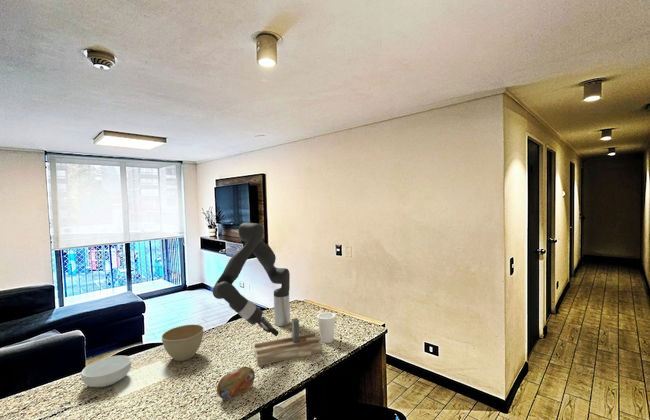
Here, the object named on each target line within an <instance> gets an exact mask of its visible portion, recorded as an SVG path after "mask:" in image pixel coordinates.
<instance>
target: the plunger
mask: <svg viewBox="0 0 650 420" xmlns="http://www.w3.org/2000/svg"><path fill="white" fill-rule="evenodd" d="M291 322H292V323H291V327H292V329H291V331H292V334H291V337H292V342H293V343H298V342H300V337H299V336H300V324H299V322H300V321H299V319H298V318H291Z"/></svg>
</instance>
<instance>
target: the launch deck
mask: <svg viewBox="0 0 650 420" xmlns="http://www.w3.org/2000/svg"><path fill="white" fill-rule="evenodd" d="M299 337H300V342H298V343H293V342H292V336H290V337H284V338H280V339H279V338H278V339H274V340H269V341H268V340H267V341H263V342H262V341H261V342H258V343H254V348H253V349H254V351H253V352H254V356H255V361H256V363H257V364H256V365H257V366H263V365H266V364H267V365H268V364H271V363H272V364H273V363H276V362H281V361H282V362H283V361H285V360H286V361H287V360H290V359H297V358H301V357H305V356H310V355H315V354H321V353H322V344H321V342H320V341H321V338H317V337H316V333H315V332H312V333H307V334H301V335H300V334H299Z"/></svg>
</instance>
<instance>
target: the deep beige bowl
mask: <svg viewBox="0 0 650 420" xmlns="http://www.w3.org/2000/svg"><path fill="white" fill-rule="evenodd" d="M203 336H204V327H203V325H201V324H185V325H180V326H176V327H173V328H171V329H168V330H167V331H165V332H164V333H163V334H162V335H161V342H162V344H163V347H164V350H165V351H166V353H167V354H168V355H169V356H170V358H171V359H173V360H175V361H176V362H184V361H189V360H190V359H191V358H193V357H194V356H195V355H196V353H197V352H198V350H199V348H200V346H201V344H202V340H203V338H204V337H203Z"/></svg>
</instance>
